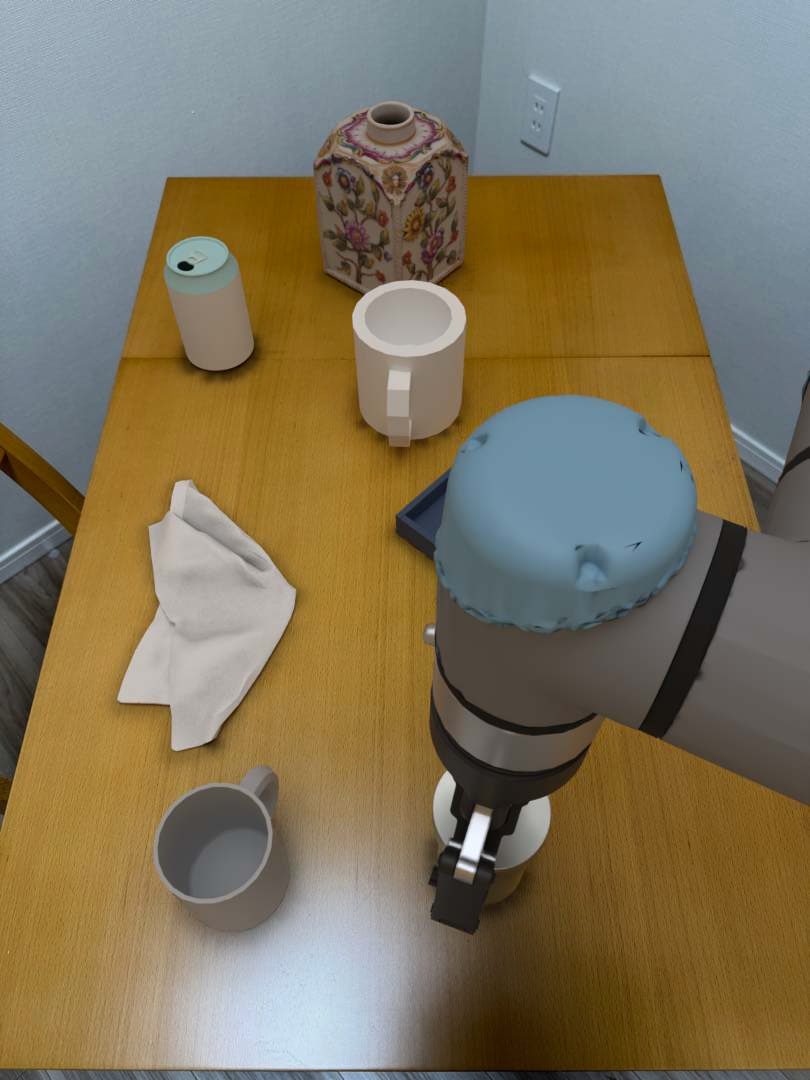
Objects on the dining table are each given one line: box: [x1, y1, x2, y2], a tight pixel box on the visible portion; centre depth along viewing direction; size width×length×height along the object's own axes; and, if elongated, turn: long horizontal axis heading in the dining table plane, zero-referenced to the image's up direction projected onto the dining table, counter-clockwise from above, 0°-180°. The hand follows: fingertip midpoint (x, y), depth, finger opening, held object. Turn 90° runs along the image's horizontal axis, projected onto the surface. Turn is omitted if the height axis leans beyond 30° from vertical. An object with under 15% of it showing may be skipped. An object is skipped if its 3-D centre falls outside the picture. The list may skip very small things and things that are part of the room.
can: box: [163, 235, 255, 371], centre depth 85 cm, size 7×7×12 cm
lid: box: [431, 769, 552, 878], centre depth 51 cm, size 7×7×2 cm
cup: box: [152, 765, 290, 933], centre depth 56 cm, size 7×10×9 cm
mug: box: [351, 280, 467, 448], centre depth 80 cm, size 14×10×11 cm
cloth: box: [116, 479, 297, 753], centre depth 71 cm, size 26×14×2 cm, turn 0°
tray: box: [395, 467, 451, 562], centre depth 74 cm, size 13×11×3 cm
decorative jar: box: [312, 100, 470, 296], centre depth 90 cm, size 12×12×18 cm
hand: (479, 840), depth 56 cm, fingers closed on lid, 7 cm apart
